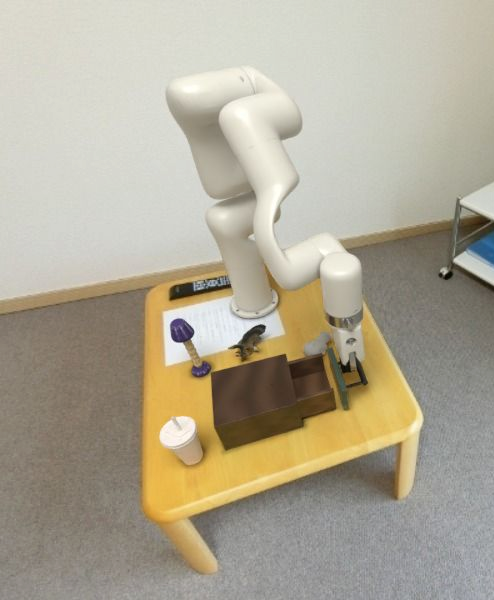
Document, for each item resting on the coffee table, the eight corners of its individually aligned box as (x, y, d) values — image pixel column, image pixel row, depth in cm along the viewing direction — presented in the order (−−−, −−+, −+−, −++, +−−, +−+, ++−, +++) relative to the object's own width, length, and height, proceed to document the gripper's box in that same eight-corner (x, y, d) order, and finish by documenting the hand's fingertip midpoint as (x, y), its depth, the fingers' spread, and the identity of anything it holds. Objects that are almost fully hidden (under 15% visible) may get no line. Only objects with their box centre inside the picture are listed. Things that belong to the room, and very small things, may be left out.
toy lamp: (209, 377, 100) (187, 328, 88) (188, 380, 99) (163, 331, 88) (212, 362, 103) (190, 312, 92) (191, 365, 102) (167, 315, 91)
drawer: (356, 359, 104) (354, 340, 99) (371, 401, 95) (371, 382, 90) (272, 382, 98) (267, 363, 93) (281, 428, 89) (275, 409, 85)
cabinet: (291, 377, 100) (285, 353, 94) (303, 427, 91) (297, 403, 85) (221, 396, 96) (210, 372, 90) (225, 450, 86) (213, 427, 80)
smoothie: (205, 471, 83) (182, 433, 74) (171, 472, 83) (144, 434, 73) (213, 441, 88) (193, 401, 78) (181, 442, 88) (157, 403, 78)
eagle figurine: (264, 361, 102) (274, 330, 108) (241, 347, 98) (253, 315, 103) (243, 367, 106) (254, 336, 111) (220, 353, 101) (232, 322, 107)
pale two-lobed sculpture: (313, 366, 104) (299, 352, 106) (336, 347, 109) (323, 334, 110) (314, 358, 101) (300, 344, 102) (339, 339, 105) (324, 325, 107)
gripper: (374, 333, 79) (374, 391, 91) (351, 283, 89) (354, 341, 102) (334, 343, 77) (340, 401, 89) (316, 290, 87) (323, 349, 99)
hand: (348, 369), depth 95 cm, fingers closed
